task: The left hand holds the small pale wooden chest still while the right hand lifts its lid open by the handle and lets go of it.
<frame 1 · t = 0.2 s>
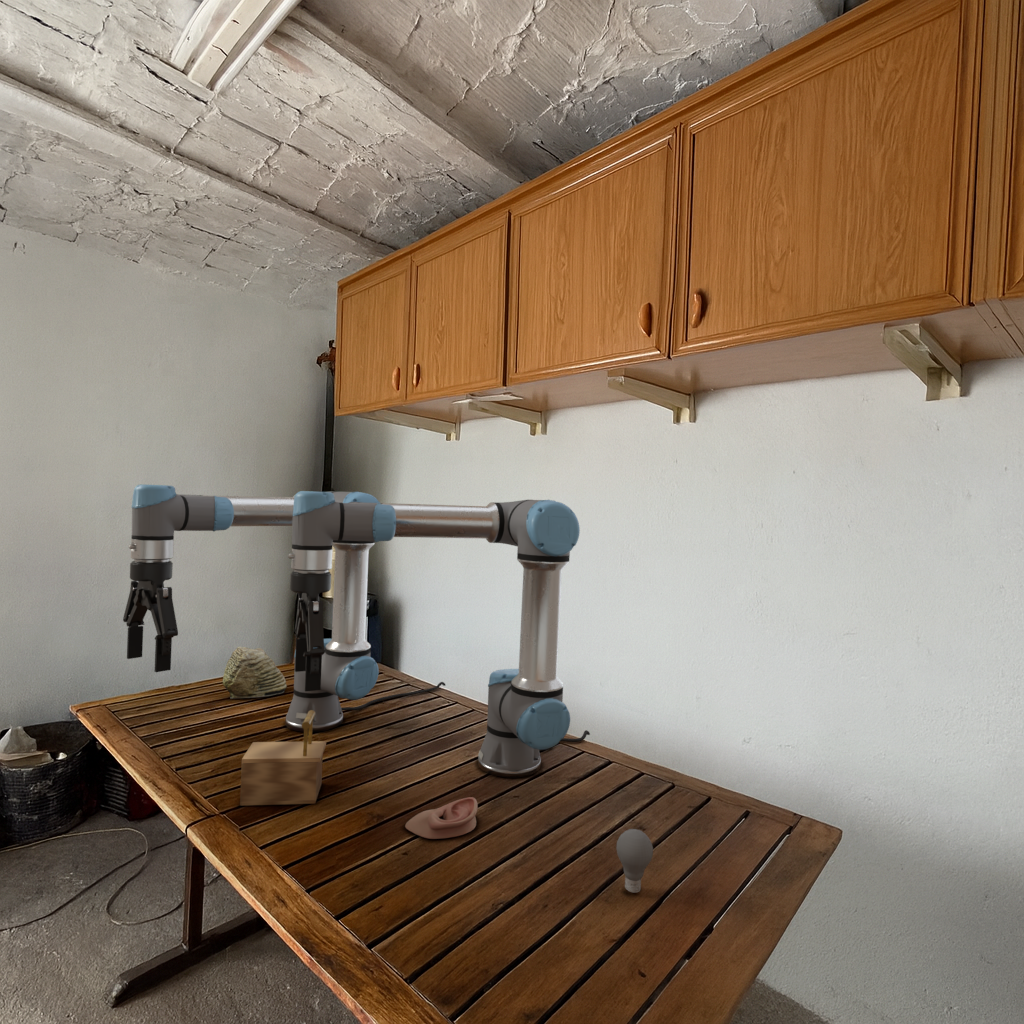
left hand: (148, 664, 129), 28 cm above the table, tool pointing down, fingers open, 13 cm apart
right hand: (307, 680, 123), 28 cm above the table, tool pointing down, fingers open, 13 cm apart
lid: (286, 734, 134), point 13 cm above the table, hinge at 0.0°
anatomical model: (441, 825, 124), on the table
fossil: (254, 694, 198), on the table
chest: (282, 794, 134), on the table
light bulb: (632, 891, 106), on the table
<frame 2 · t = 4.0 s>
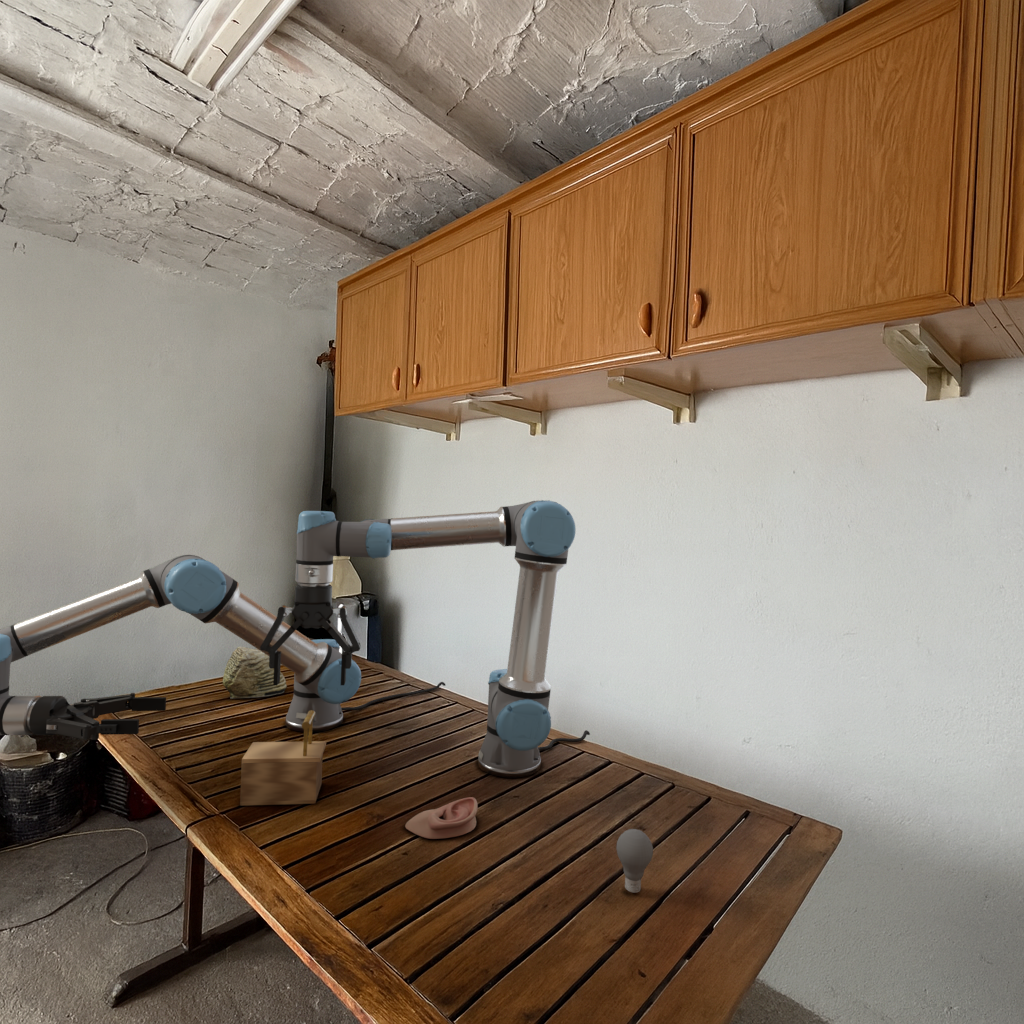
left hand: (152, 714, 130), 17 cm above the table, tool horizontal, fingers open, 13 cm apart
right hand: (310, 683, 134), 24 cm above the table, tool pointing down, fingers open, 13 cm apart
nothing on the table moved.
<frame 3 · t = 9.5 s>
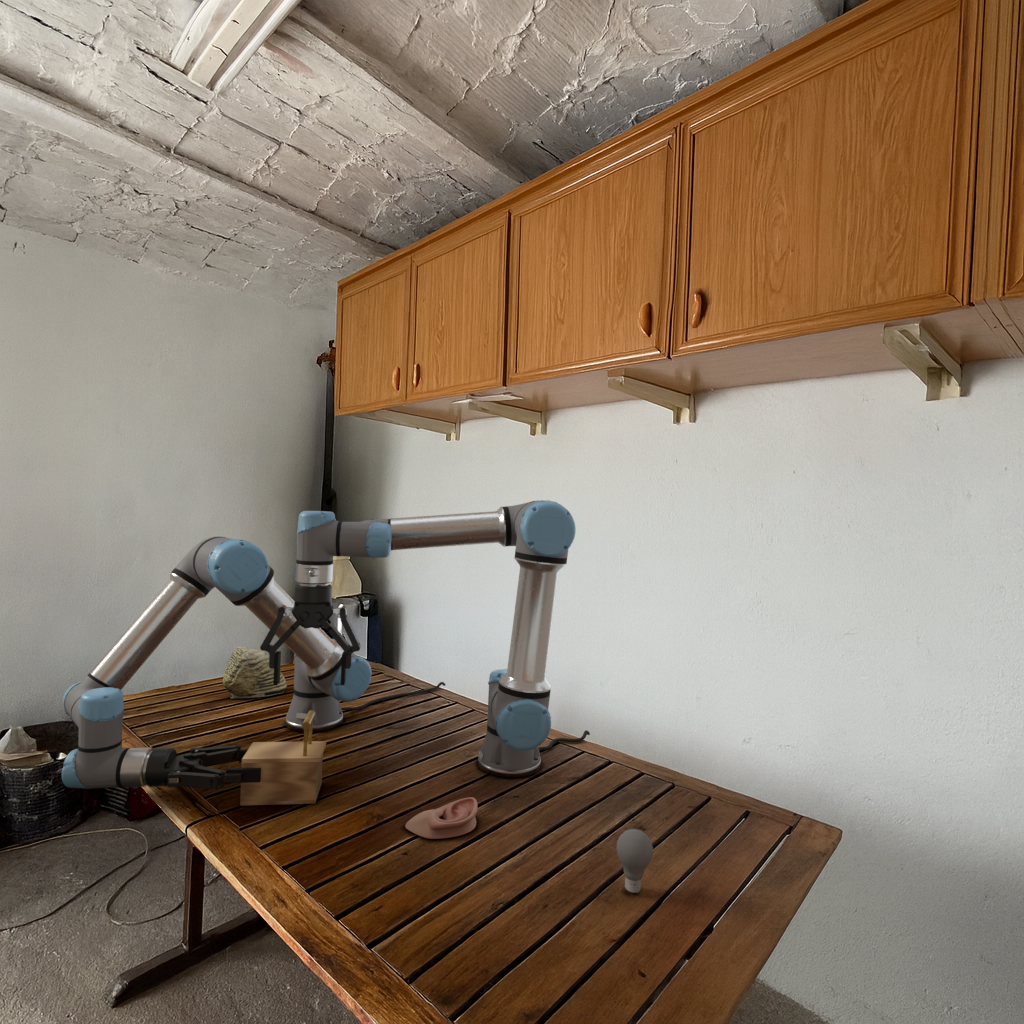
left hand: (265, 764, 133), 6 cm above the table, tool horizontal, fingers closed on chest, 9 cm apart
right hand: (310, 683, 134), 24 cm above the table, tool pointing down, fingers open, 13 cm apart
chest: (282, 794, 134), on the table, touching left hand
everything else where it was.
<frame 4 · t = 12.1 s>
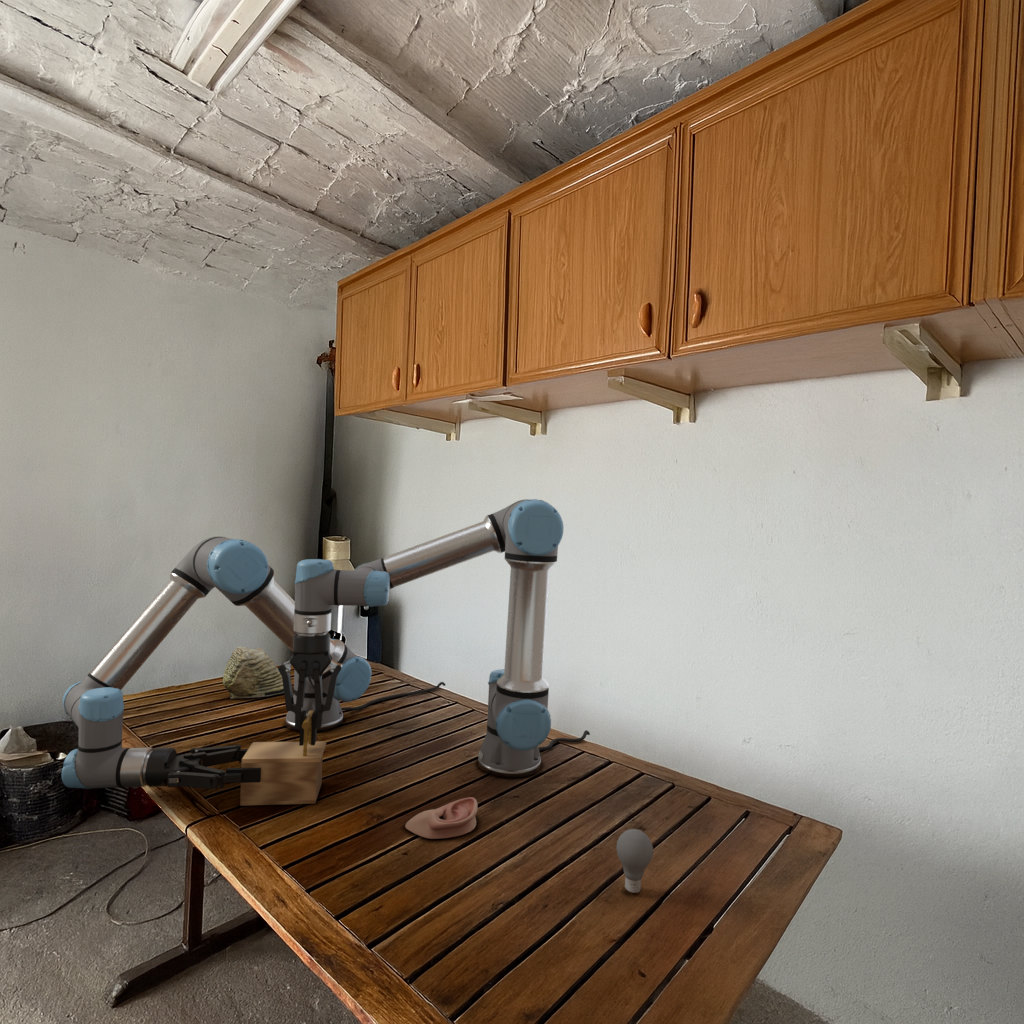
left hand: (265, 764, 133), 6 cm above the table, tool horizontal, fingers closed on chest, 9 cm apart
right hand: (307, 742, 135), 11 cm above the table, tool pointing down, fingers closed on lid, 2 cm apart
lid: (286, 735, 134), point 13 cm above the table, hinge at -0.1°, touching right hand
chest: (282, 794, 134), on the table, touching left hand
everything else where it was.
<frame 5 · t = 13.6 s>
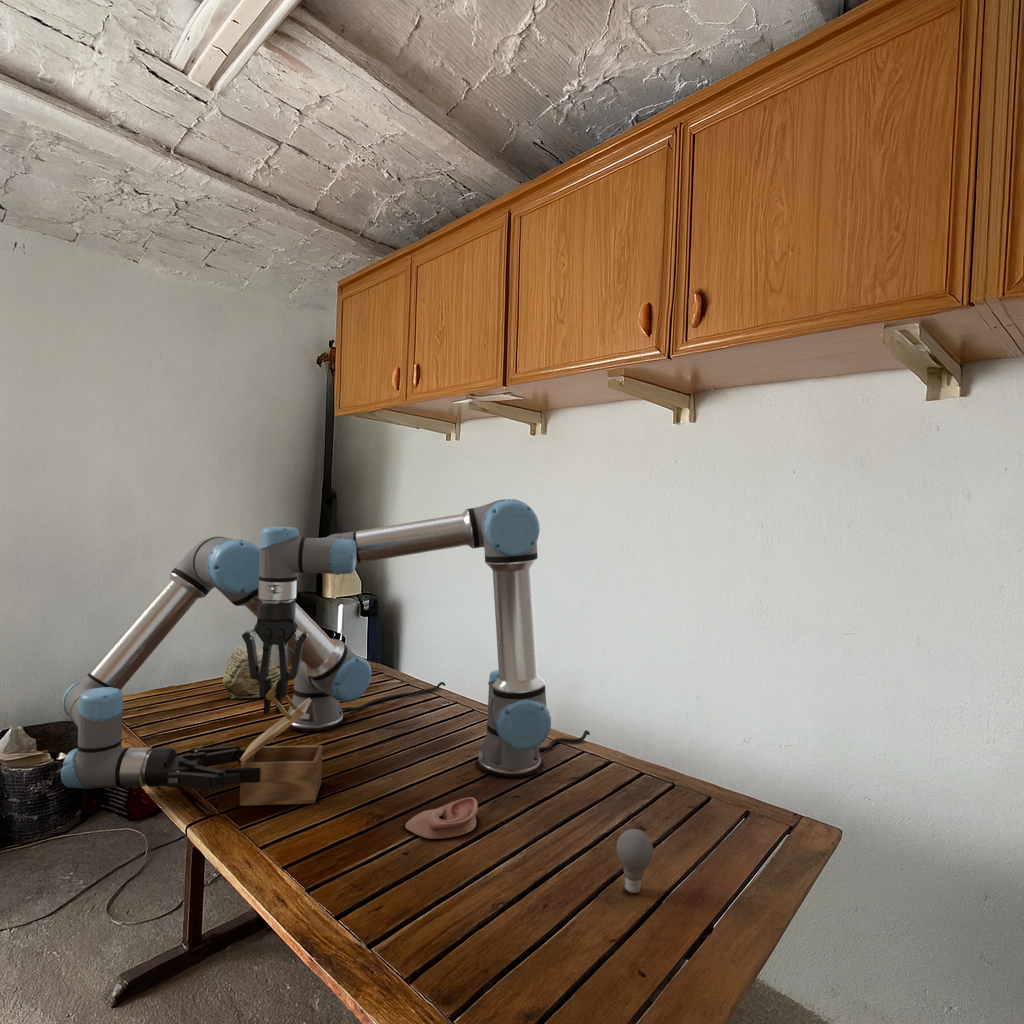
left hand: (265, 765, 133), 6 cm above the table, tool horizontal, fingers closed on chest, 9 cm apart
right hand: (272, 711, 133), 18 cm above the table, tool pointing down, fingers closed on lid, 2 cm apart
lid: (266, 715, 133), point 17 cm above the table, hinge at 39.7°, touching right hand
chest: (281, 794, 134), on the table, touching left hand
everything else where it was.
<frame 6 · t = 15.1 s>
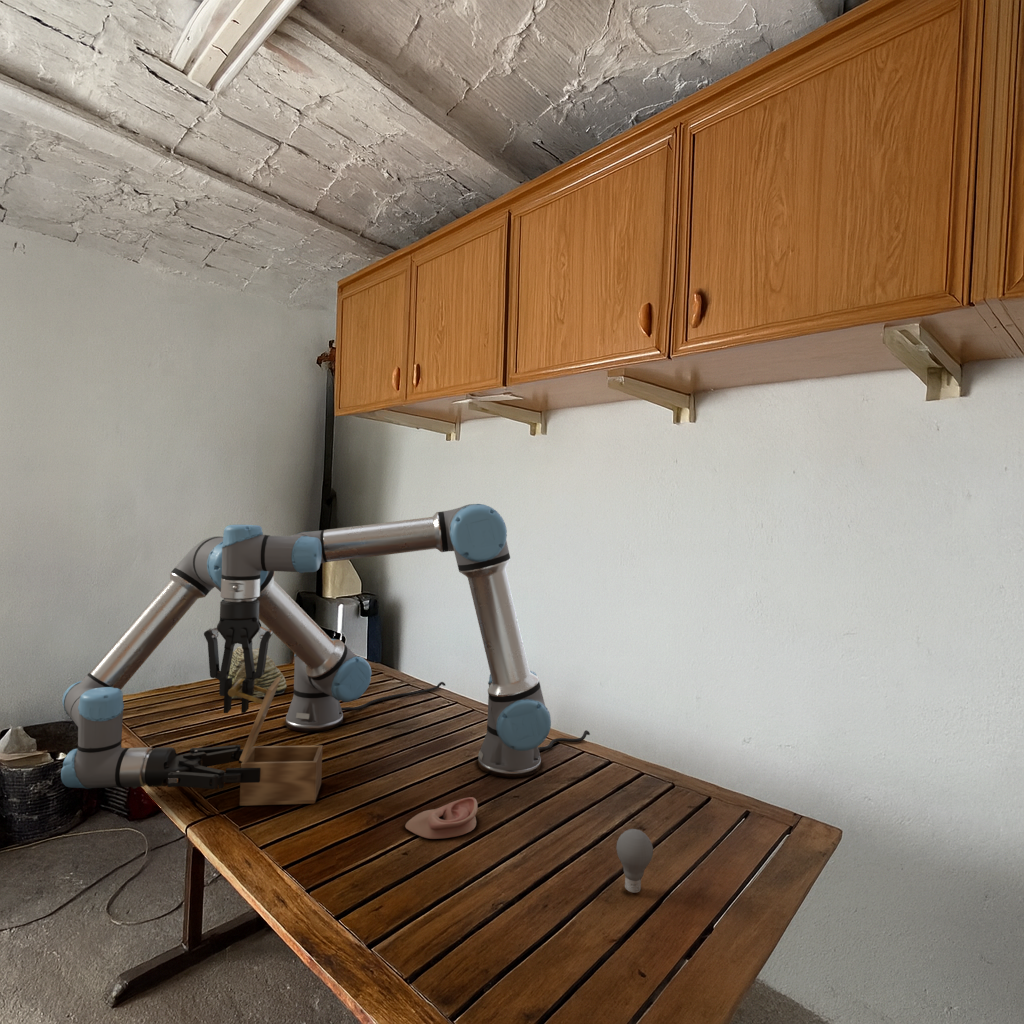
left hand: (265, 765, 133), 6 cm above the table, tool horizontal, fingers closed on chest, 9 cm apart
right hand: (236, 710, 132), 18 cm above the table, tool pointing down, fingers open, 3 cm apart
lid: (244, 712, 132), point 18 cm above the table, hinge at 70.7°
chest: (282, 794, 134), on the table, touching left hand
everything else where it was.
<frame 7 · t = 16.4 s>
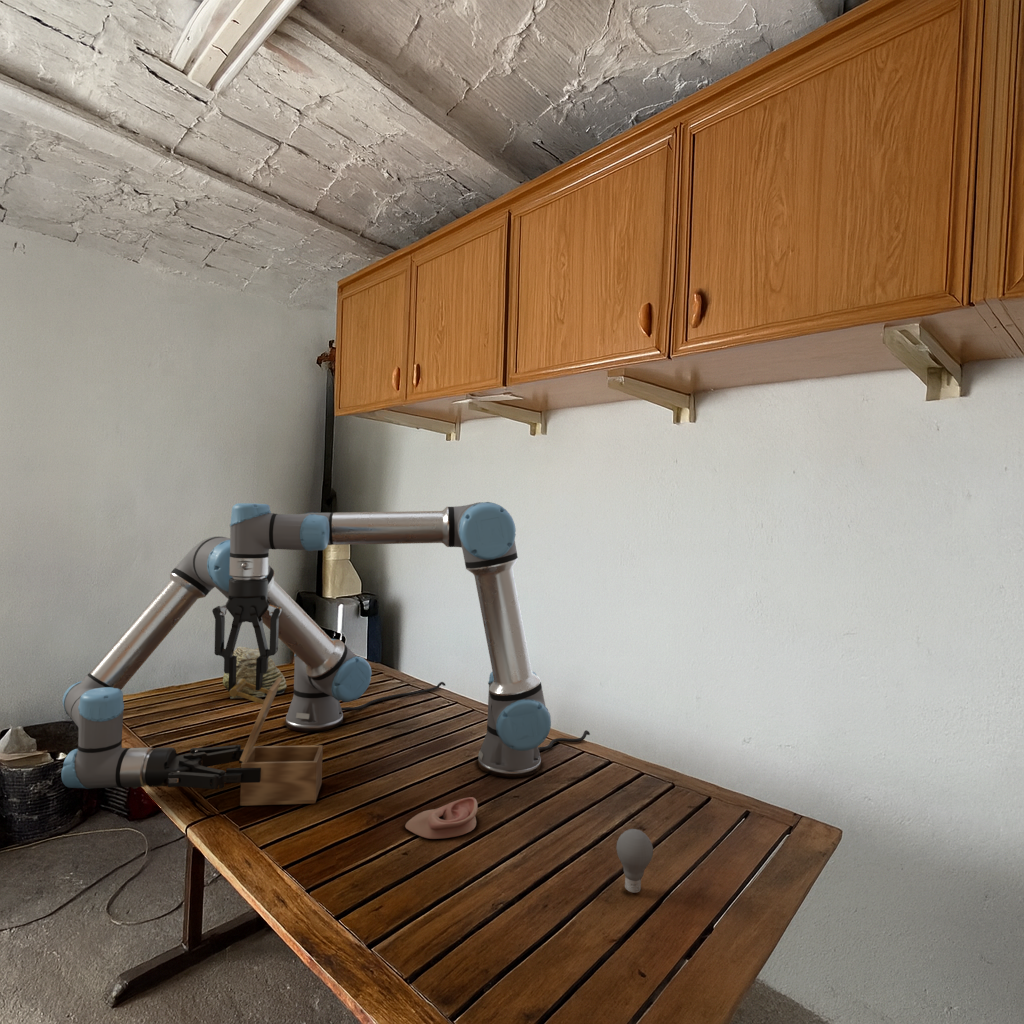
left hand: (265, 765, 133), 6 cm above the table, tool horizontal, fingers closed on chest, 9 cm apart
right hand: (245, 688, 132), 23 cm above the table, tool pointing down, fingers open, 5 cm apart
lid: (244, 712, 132), point 18 cm above the table, hinge at 69.9°, touching right hand
chest: (282, 794, 134), on the table, touching left hand
everything else where it was.
when the left hand's fingers open (6 cm above the table, at t = 19.1 s): chest stays where it is, on the table.
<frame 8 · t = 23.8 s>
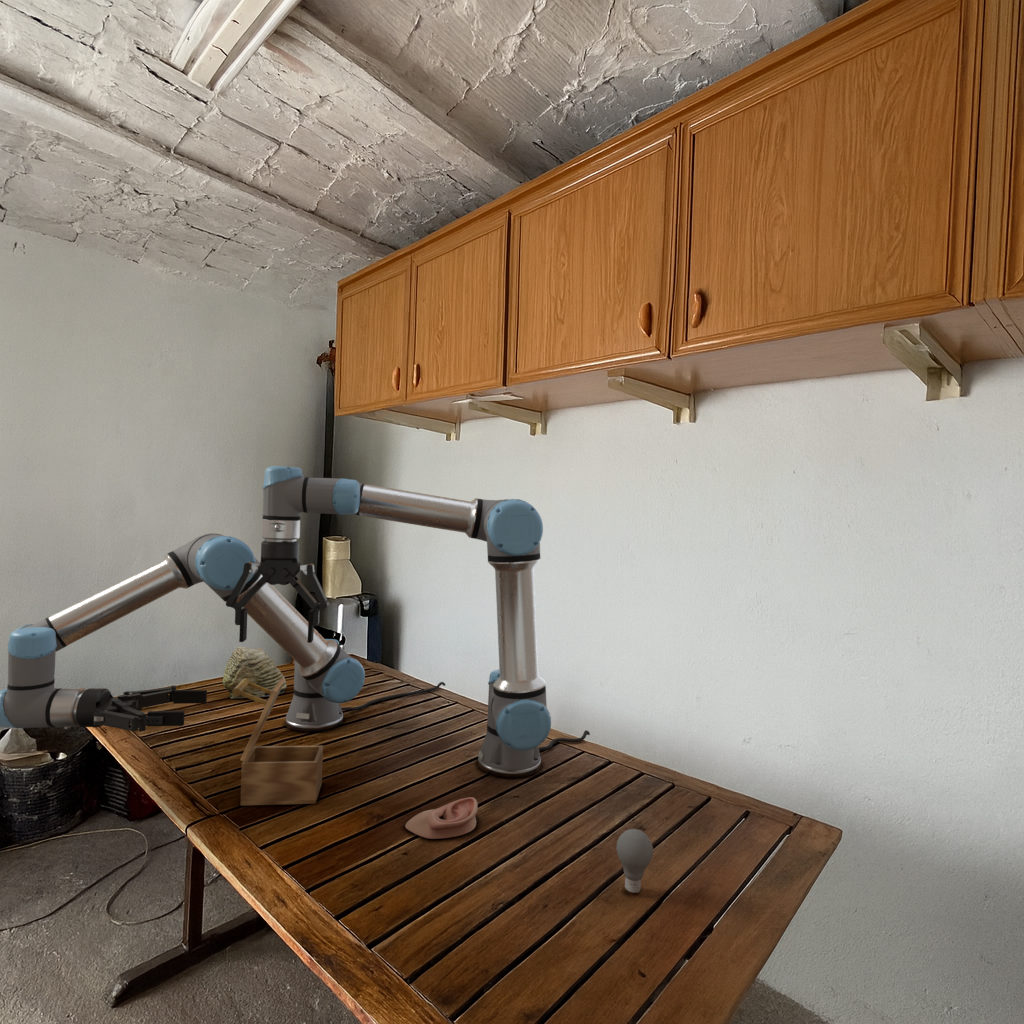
left hand: (195, 706, 131), 19 cm above the table, tool horizontal, fingers open, 13 cm apart
right hand: (276, 641, 133), 33 cm above the table, tool pointing down, fingers open, 13 cm apart
lid: (247, 712, 133), point 18 cm above the table, hinge at 67.9°
chest: (282, 794, 134), on the table
everything else where it was.
at the end: lid at +68° (first picture: +0°); the left hand is holding nothing; the right hand is holding nothing; chest tilted 0°; chest never tilted more than 1° during the clip; chest moved 0.1 cm from its start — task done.
